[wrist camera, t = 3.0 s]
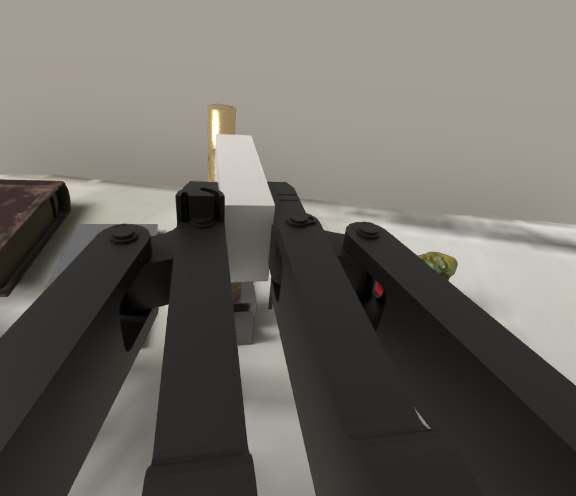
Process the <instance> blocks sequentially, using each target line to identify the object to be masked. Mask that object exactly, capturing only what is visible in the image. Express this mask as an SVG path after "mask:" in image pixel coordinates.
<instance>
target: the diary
mask: <svg viewBox="0 0 576 496" xmlns="http://www.w3.org/2000/svg"><path fill="white" fill-rule="evenodd" d="M70 211H71V206H70V196H69V191H68V189H67V187H66V185H65V183H64V182H63V181H43V180H3V179H0V297H7V296H8V295H9V294H10V292H11V291H12V290H13V288H14V287H15V286H16V284H17V283H18V282H19V280H20V279H21V278H22V276H23V275H24V273H25V272H26V271H27V269H28V268H29V267H30V265H31V264H32V263H33V261H34V260H35V259H36V257H37V256H38V255H39V253H40V252H41V251H42V249H43V248H44V246H45V245H46V244H47V242H48V241H49V240H50V238H51V237H52V236H53V234H54V233H55V232H56V230H57V229H58V228H59V226H60V225H61V223H62V222H63V221H64V219H65V218H66V217H67V215H68V214H69V213H70Z"/></svg>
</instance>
